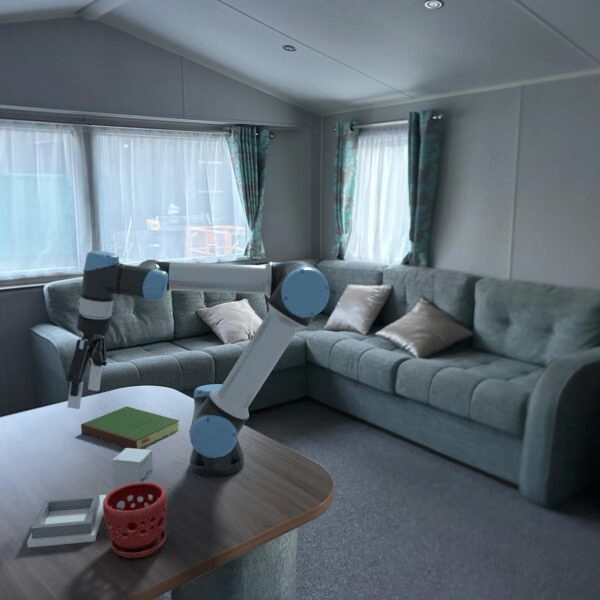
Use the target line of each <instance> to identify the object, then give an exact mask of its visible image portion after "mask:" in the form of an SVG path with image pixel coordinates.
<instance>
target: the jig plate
mask: <svg viewBox="0 0 600 600" xmlns="http://www.w3.org/2000/svg"><path fill="white" fill-rule="evenodd" d="M106 496H107V494H98V495H84V496H74V497H73V496H72V497H62V498H50V499H44V501H43V503H42V505H41V508H40V509H39V511H38V513H37V515H36V517H35V520H34V521H33V524H32V526H31V528H30V532H31V533H30V535H29V536H28V538H27V542H26V544H27V548H38V547H48V546H49V547H50V546H58V545H59V546H60V545H69V544H80V543H92V542H96V539H97V536H98V532H99V529H100V524H101V521H102V518H103V516H104V510H103V501H104V499H105V497H106Z"/></svg>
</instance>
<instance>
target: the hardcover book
mask: <svg viewBox="0 0 600 600" xmlns="http://www.w3.org/2000/svg"><path fill="white" fill-rule="evenodd" d="M179 422H180V420H179V419H175V418H171V417H167V416H164V415H161V414H156V413H153V412H148V411H145V410H141V409H138V408H134V407H130V406H127V405H126V406H124V407H122V408H119V409H116V410H112V412H109V413H106V414H104V415H101V416H98V417H96V418H93V419H91V420H89V421H86V422H83V423H81V424H80V429H81V435H84V434H85V435H84V436H87V435H88V436H87V437H90V436H92V437H91V438H93V437H95V438H94V439H96V438H98V439H97V440H99V439H101V440H100V441H102V440H104V441H103V442H106V441H107V442H106V443H109V442H110V443H109V444H112V443H113V444H112V445H115V444H116V446H118V445H119V446H118V447H121V448H124V449H125V448H133V449H143V448H144V447H147V446H148V445H151V444H152V443H155V442H157V441H159V440H161V439H163V438H165V437H167V436H168V434H169V435H171V434H173V433H176V432H177V431H179ZM166 435H167V436H166ZM164 436H165V437H164ZM162 437H163V438H162ZM160 438H161V439H160ZM158 439H159V440H158ZM156 440H157V441H156Z"/></svg>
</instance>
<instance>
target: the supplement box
mask: <svg viewBox="0 0 600 600" xmlns="http://www.w3.org/2000/svg"><path fill="white" fill-rule="evenodd" d="M111 464H112V481H113V482H112V483H113V484H112V485H113V490H115V489H117V488H119V487H122V486H125V485H128V484H133V483H144V482H145V483H154V469H153V468H154V466H153V465H154V464H153V450H152V449H145V448H140V449H133V448H124V449H123V450H122V451H120V452H119V454H117V455H116V456H115V457H114V458H112V460H111ZM149 498H150V499H153V496H152V495H149ZM127 499H128V500H132V499H133V496H132V495H130V496H128V497H127ZM138 501H143V497H141V496H140V497H138ZM147 504H148V503H145V506H146V505H147ZM124 506H125V503H124V502H123V501H120V502H118V504H117V509H123V508H124ZM134 506H135V504H134V503H133V504H131V507H134Z"/></svg>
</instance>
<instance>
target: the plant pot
mask: <svg viewBox="0 0 600 600" xmlns="http://www.w3.org/2000/svg"><path fill="white" fill-rule="evenodd" d="M130 495H132V496H133V499H132V500H128V499H127V497H128V496H130ZM149 495H152V496H153V497H152V498H151V499H150V498H149ZM140 496H141V497H143V501H138V497H140ZM120 501H123V502H124V503H125V506H124V508H121V509H118V508H117V504H118V502H120ZM133 503H134V504H135V506H134V507H131V504H133ZM145 503H147V504H148V506H146V505H145ZM167 509H168V507H167V493H166V490H165V488H164V487H163V486H161V485H159V484H157V483H154V482H153V483H145V482H144V483H133V484H128V485H125V486H122V487H119V488H117V489H115V490H114V489H113V490H112V491H110V492H109V493H108V494H106V497H105V499H104V501H103V510H104V511H103V518H104V521H105V524H106V527H107V531H108V534H109V535H110V538H111V543H110V546H111V549H112V551H113V552H114V553H115V554H117V555H118V556H120V557H123V558H127V559H139V558H143V557H146V556H149V555H151V554H153V553H156V552H157V551H158V550H159V549H160V548H162V546H163V545H164V544H165V542H166V539H167V531H166V529H165V525H166V520H167V513H168V512H167V511H168V510H167Z"/></svg>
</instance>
